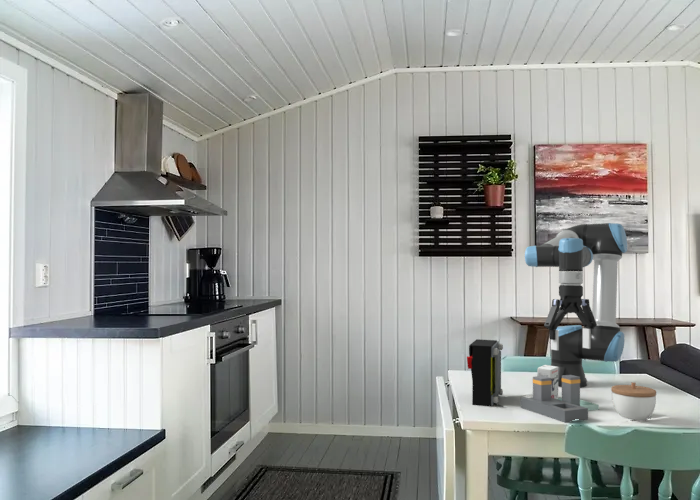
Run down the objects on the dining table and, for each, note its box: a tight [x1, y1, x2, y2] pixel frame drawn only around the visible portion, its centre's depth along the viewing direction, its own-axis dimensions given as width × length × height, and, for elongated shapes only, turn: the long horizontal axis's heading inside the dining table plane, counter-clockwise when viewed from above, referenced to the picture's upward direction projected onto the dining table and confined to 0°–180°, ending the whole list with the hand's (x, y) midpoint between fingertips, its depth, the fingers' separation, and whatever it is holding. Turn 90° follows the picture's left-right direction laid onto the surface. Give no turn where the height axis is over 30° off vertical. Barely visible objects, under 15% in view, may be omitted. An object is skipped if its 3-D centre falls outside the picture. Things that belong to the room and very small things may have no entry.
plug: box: [561, 375, 581, 406], centre depth 197 cm, size 4×4×10 cm
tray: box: [557, 397, 600, 412], centre depth 197 cm, size 12×12×2 cm
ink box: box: [536, 364, 559, 399], centre depth 209 cm, size 8×5×12 cm, turn 144°
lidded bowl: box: [610, 381, 657, 422], centre depth 185 cm, size 13×13×11 cm
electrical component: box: [466, 338, 504, 408], centre depth 208 cm, size 18×10×20 cm, turn 160°
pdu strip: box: [520, 375, 589, 424], centre depth 188 cm, size 20×9×11 cm, turn 23°
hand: (570, 349), depth 197 cm, fingers open, 13 cm apart
